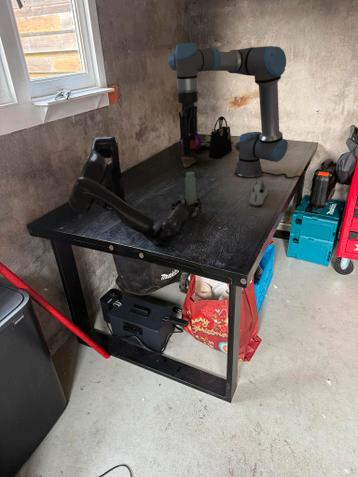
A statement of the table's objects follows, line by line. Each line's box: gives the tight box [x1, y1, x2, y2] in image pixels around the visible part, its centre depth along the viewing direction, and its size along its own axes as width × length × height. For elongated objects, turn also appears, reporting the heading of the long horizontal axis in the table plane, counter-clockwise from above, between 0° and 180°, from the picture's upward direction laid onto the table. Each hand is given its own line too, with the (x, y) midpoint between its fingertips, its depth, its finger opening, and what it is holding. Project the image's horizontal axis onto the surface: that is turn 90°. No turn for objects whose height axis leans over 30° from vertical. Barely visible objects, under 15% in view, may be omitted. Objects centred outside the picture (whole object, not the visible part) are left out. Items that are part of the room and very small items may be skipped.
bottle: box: [184, 171, 198, 218], centre depth 143 cm, size 4×4×19 cm
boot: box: [180, 139, 198, 169], centre depth 209 cm, size 9×24×20 cm, turn 168°
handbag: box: [208, 115, 233, 159], centre depth 220 cm, size 21×9×25 cm, turn 148°
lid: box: [183, 140, 196, 149], centre depth 132 cm, size 5×5×2 cm
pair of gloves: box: [198, 134, 234, 150], centre depth 250 cm, size 30×26×5 cm
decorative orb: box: [178, 134, 202, 153], centre depth 230 cm, size 15×15×15 cm
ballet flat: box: [249, 179, 269, 207], centre depth 158 cm, size 8×24×8 cm, turn 163°
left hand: (193, 199), depth 147 cm, fingers closed on bottle, 4 cm apart
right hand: (189, 152), depth 134 cm, fingers closed on lid, 5 cm apart
